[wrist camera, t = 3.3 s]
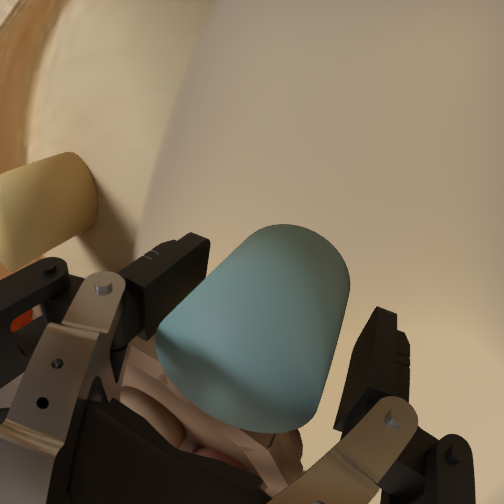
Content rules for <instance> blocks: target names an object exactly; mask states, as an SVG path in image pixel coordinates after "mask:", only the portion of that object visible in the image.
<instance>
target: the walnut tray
mask: <svg viewBox="0 0 504 504" xmlns="http://www.w3.org/2000/svg"><path fill="white" fill-rule="evenodd" d="M41 315H42V313H41V310H40V306H39V305H37V306H35V307H33V316H32V321H33V320H34V319H36V318H38V317H39V316H41ZM155 336H156V333H155V334H154V335H153V336H152V337H151V338H150V339H149V340H148V341H147V342H146V341H144V340H143V339H141V338H139V337H138V336H136V337H135V338H133V339H132V340H131V349H130V353H129V357H128V361H127V365H126V369H125V373H124V377H123V382H122V386H121V392H120V402H121V403H123V404H124V405H126V406H127V407H129V408H130V409H132V410H133V411H135V412H136V413H138V414H139V415H141V416H142V417H144V418H145V419H146V420H147V421H148V422H149V423H150V424H151V425H152V426H153V427H154V428H155V429H156V430H157V431H158V432H159V433H160V434H161V435H162V436H163V437H164V438H165V439H166V440H167V441H168V442H169V443H170V444H171V445H173V446H174V447H175V448H177V449H180V450H183V451H186V452H190V453H192V451H193V450H194V448H195V447H196V446H206V447H210V448H213V449H216V450H218V451H221V452H223V453H225V454H227V455H229V456H231V457H233V458H234V459H236V460H237V461H239V462H240V463H241V464H242V465H243V466H244V467H245V468H246V469H247V472H249V473H251V474H254V475H256V476H259V477H261V479H260V481H259V483H258V485H257V486H258V487H260V488H261V489H263V490H264V491H265V492H266V493H267V494H269V495H270V496H271V497H272V498H273V497H274V496H275V495H277V494H278V493H279V492H281V491H282V490H283V489H285V488H286V487H287V486H289V485H290V484H291V483H292V482H294V481H295V480H296V479H297V478H299V477H300V475H301V472H302V470H303V466H302V464H301V461H300V460H301V457H302V449H303V448H302V447H303V444H302V440H301V437H300V433H299V431H298V429H295V430H292V431H289V432H283V433H260V432H253V431H248V430H244V429H241V428H237V427H234V426H232V425H229V424H227V423H224V422H222V421H220V420H218V419H216V418H214V417H212V416H210V415H209V414H207V413H206V412H204V411H202V410H201V409H200V408H198V407H197V406H195V405H194V404H193V403H192V402H190V401H189V400H188V399H187V398H186V397H185V396H184V395H183V394H182V393H181V392H180V391H179V390H178V389H177V388H176V387H175V386H174V385H173V383H172V382H171V381H170V379H169V378H168V376H167V375H166V373H165V372H164V370H163V368H162V366H161V364H160V362H159V359H158V356H157V353H156V347H155Z"/></svg>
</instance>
